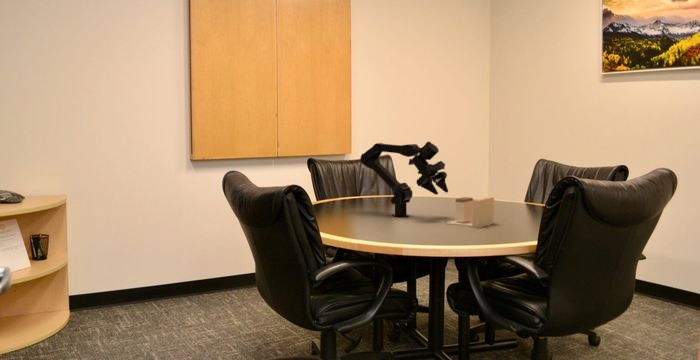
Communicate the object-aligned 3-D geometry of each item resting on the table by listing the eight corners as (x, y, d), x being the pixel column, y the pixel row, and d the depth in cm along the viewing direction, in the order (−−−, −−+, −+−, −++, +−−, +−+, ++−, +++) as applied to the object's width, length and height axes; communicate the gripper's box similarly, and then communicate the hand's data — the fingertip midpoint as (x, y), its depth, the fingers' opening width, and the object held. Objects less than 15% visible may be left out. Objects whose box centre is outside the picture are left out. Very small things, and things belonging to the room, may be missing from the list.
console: (445, 223, 278) (446, 197, 277) (461, 219, 289) (461, 194, 288) (478, 227, 268) (479, 200, 267) (493, 223, 279) (494, 197, 278)
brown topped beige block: (455, 221, 278) (455, 199, 277) (464, 219, 285) (464, 197, 284) (463, 222, 276) (463, 199, 275) (472, 220, 282) (472, 197, 281)
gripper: (423, 156, 280) (443, 184, 275) (444, 154, 295) (464, 180, 290) (407, 172, 286) (427, 199, 281) (429, 169, 301) (448, 195, 295)
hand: (442, 193), depth 286 cm, fingers open, 9 cm apart
